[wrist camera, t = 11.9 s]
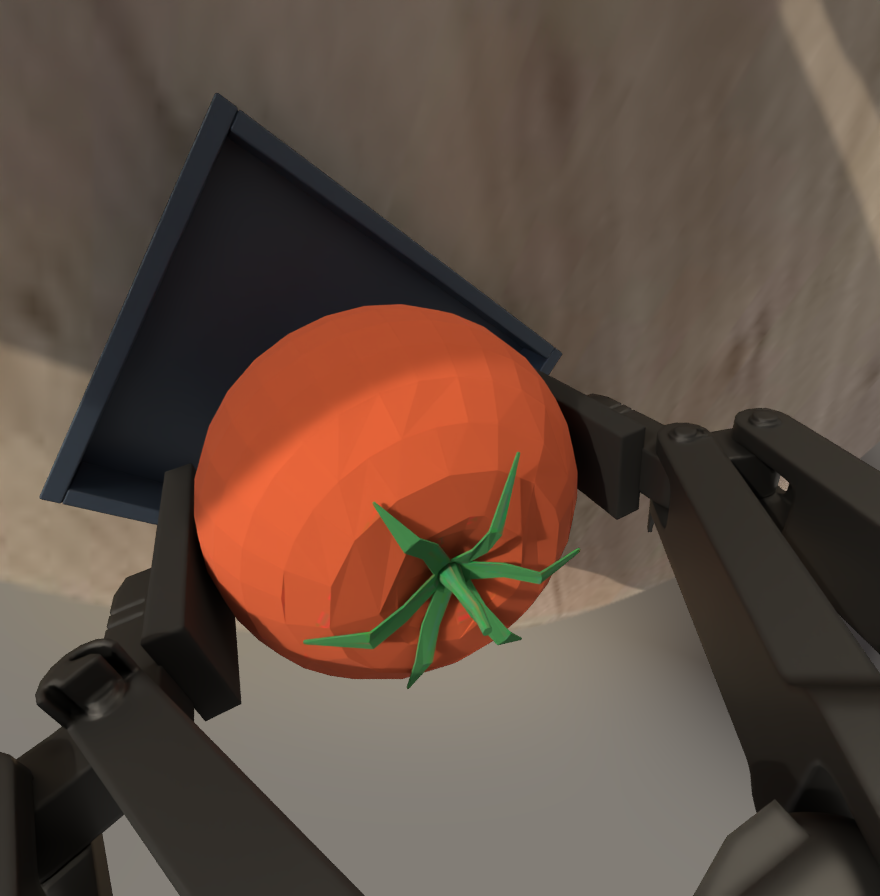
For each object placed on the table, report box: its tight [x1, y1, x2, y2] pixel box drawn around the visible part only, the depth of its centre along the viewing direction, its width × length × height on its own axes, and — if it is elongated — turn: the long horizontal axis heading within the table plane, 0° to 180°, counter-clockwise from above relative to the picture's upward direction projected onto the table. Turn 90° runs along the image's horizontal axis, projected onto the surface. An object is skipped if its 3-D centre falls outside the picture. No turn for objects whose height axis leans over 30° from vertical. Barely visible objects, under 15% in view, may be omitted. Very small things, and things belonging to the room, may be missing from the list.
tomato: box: [194, 304, 580, 689], centre depth 13 cm, size 10×10×10 cm
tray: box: [40, 93, 562, 525], centre depth 19 cm, size 15×13×2 cm
